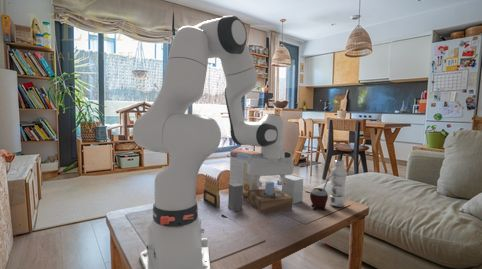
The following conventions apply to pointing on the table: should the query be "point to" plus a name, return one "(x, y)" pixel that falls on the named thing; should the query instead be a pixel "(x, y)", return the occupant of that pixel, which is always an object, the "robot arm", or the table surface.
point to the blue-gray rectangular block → (269, 188)
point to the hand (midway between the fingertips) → (269, 185)
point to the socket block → (269, 201)
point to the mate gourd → (319, 197)
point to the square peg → (235, 196)
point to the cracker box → (241, 170)
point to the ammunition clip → (211, 191)
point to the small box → (293, 188)
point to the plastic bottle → (338, 184)
